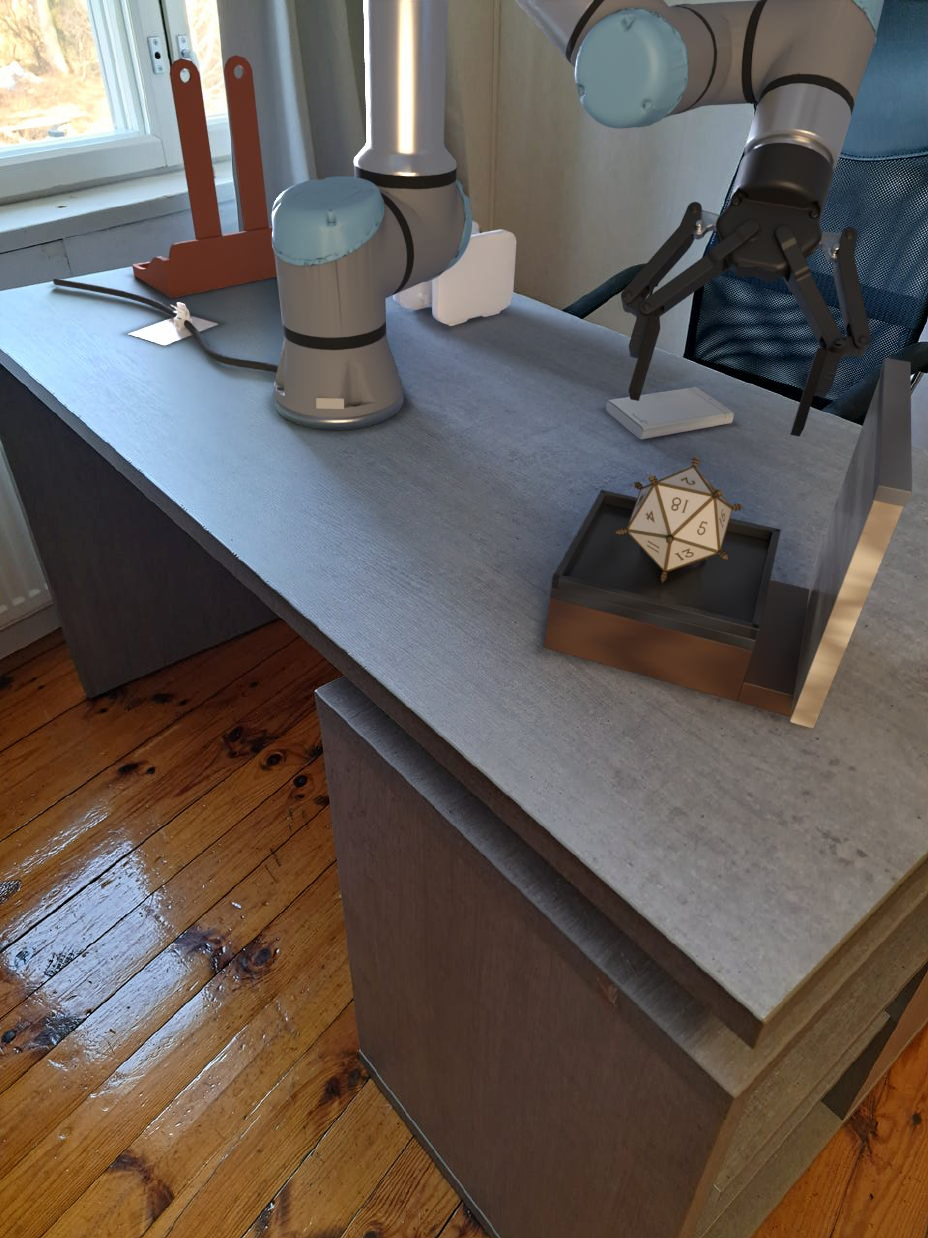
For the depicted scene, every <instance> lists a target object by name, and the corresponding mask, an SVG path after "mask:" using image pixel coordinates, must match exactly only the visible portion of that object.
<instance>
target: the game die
mask: <svg viewBox="0 0 928 1238" xmlns="http://www.w3.org/2000/svg"><path fill="white" fill-rule="evenodd" d="M699 462H700V460H699V457H698V455H695V456H694V457H693V458H691V462H690V463H691V466H689V467H687V468H684V469H682V470H679V471H677V472H674V473H673V474H670V475H668V476H664V477H663V478H660V479H658V477H657V476H656V475H653V474H652V475H651V474H649V477H648V481H649V482H650V483H649V484H646V485H643V483H641V482H640V481H633V483H634V484H633V485H634V489H636V490H637V491H638V490H639V492H638V496H637V501H636V504H635V506H634V509H633V512H632V515H631V517H630V520H629V523H628V526H627V528H621V529H620V528H619V530H618V531H617V532H616V533H617V534H620V535H622V534H625V533H628V534H629V535H630V536H631V537H632V538H633V539H634V540H635V541H636V542H637V543H638V544H639V545H640V547H641V548H642V549H643V550H644V551H645V552H646V553H647V554H648V555H649V556H650V557H651V558H652V559H653V560H654V562H655V563H656V564H657V565H658V566H659V567H660V568H661V569H662V570H663V572H662V574H661V577H660V578H661V581H662V582H664V581H665V580H666V579H667V576H668V575H667V572H668V571H671V570H674V569H677V568H679V567H682V566H685V565H688V564H691V563H693V562H696V561H699V560H702V559H703V560H707V557H710V556H713V555H716V554H718V555H719V557H721V559H727V560H728V557H727V553H725V551H721V547H722V544H723V540H724V537H725V533H726V530H727V526H728V523H729V519H730V518H731V515H732V512H733V511H734V512H737V511H738V512H739V511H741V509H742V508H743V507H744V505H742V504H740V503H736V504H733V505H731V504H730V503H729V502H728V501H727V499H726V498H725V497H724V496H723V490H722V489H716V487H715V486H714V485H713V484H712V483H711V482H710V481H709V480H708V478H707V477H706V476H704V474H703V473H702V472H701V470H699V469H698V468H697V466H698V465H699Z"/></svg>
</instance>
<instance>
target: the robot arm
mask: <svg viewBox="0 0 928 1238" xmlns="http://www.w3.org/2000/svg"><path fill="white" fill-rule="evenodd" d="M514 2H515V3H516V4H517V5H518V7H520V8H521V10H522V11H523V12H524V13H525V14H526V15H527V17H529V18H530V20H531V21H532V22H533V23H534V25H536V27H538V29H539V30H540V31H541V32H542V33H543V35H545V36H546V37H547V40H549V41H550V42H551V43H552V45H553V46H554V47H555V48H556V49H557V50H558V51H559V52H560V54H562V55H563V57H564V58H565V59H566V60H567V61H568V63H570V65H571V66H572V67H573V68H574V81H575V86H576V90H577V94H578V97H579V100H580V103H581V105H582V107H583V109H584V110H585V112H586V113H587V114H588V115H589V116H590V117H591V118H592V119H593V120H594V121H595V122H597V123H599V124H600V125H602V126H605V127H607V128H610V129H611V128H612V129H622V130H623V129H631V128H646V127H649V126H652V125H654V124H656V123H660V122H661V121H662V120H663V119H665V118H667V117H671V116H674V115H680V114H683V113H686V112H690V111H693V110H695V109H699V108H702V107H707V106H709V107H710V106H727V105H745V104H750V105H756V109H755V112H754V116H753V120H752V123H751V127H750V129H749V130H750V131H749V132H748V137H747V139H746V143H745V147H744V150H743V151H744V156H743V157H742V158H741V161H740V163H739V167H738V171H737V173H736V177H735V180H734V183H733V186H732V190H731V192H730V193H731V194H730V197H729V200H728V203H727V206H726V207H725V209H724V210H723V211H722V212H721V213H720V214H718V213H715V212H712V211H711V212H710V211H709V210H708V211H707V210H705V209H703V207H702V204H701V203H700V202H699V201H693V202H690V203H689V204H688V205H687V207H686V210H685V212H684V215H683V217H682V219H681V221H680V224H679V226H678V227H677V228H676V229H675V231H673V233H672V234H671V235H670V236H669V237H668V239H667V240H666V241H664V243H663V244H662V245H661V247H660V248H659V249H658V250H657V251H656V252H655V253H654V255H653V256H652V257H651V258H649V260H648V261H647V262H646V264H645V265H644V266H643V267H642V268H641V270H639V272H638V273H637V274H636V275H635V276H634V277H633V278H632V280H631V281H630V282H629V283H628V284H627V285H626V287H624V289H622V291H621V293H620V299H621V305H622V309H623V311H624V312H625V313H629V314H632V315H633V316H634V317H635V318H636V319H635V323H634V325H633V329H632V333H631V337H630V340H629V344H628V351H629V357H630V358H633V359H637V360H636V363H635V367H634V370H633V373H632V377H631V380H630V383H629V387H628V394H629V397H630V399H631V400H636V401H639V399H640V396H641V395H642V392H643V389H644V387H645V382H646V379H647V376H648V371H649V368H650V366H651V363H652V362H651V361H652V358H653V356H654V351H655V348H656V345H657V341H658V338H659V335H660V331H661V317H662V316H663V315H665V314H666V313H667V312H669V311H670V310H672V309H673V308H674V307H675V306H677V305H679V304H680V303H681V302H683V301H684V300H686V299H687V298H688V297H689V296H691V295H693V294H694V293H695V292H696V291H698V290H699V289H701V288H702V287H703V286H705V285H706V284H708V283H709V282H710V281H711V280H713V279H717V278H719V277H721V276H722V275H723V274H725V273H726V272H727V271H729V270H731V272H733V273H734V274H735V276H736V277H740V278H753V277H755V278H757V279H760V280H761V281H764V282H769V283H774V281H776V280H780V279H783V281H784V283H785V284H786V285H785V286H786V287H787V289H788V291H789V292H790V293H792V295H793V297H794V299H795V300H796V302H797V304H798V307H799V309H800V311H801V313H802V315H803V317H804V318H805V320H806V323H807V324H808V326H809V328H810V330H811V332H812V334H813V337H814V338H815V341H816V342H817V345H818V346H819V347H817V350H816V352H815V354H814V356H813V358H812V361H811V364H810V368H809V371H808V375H807V378H806V381H805V385H804V388H803V391H802V394H801V397H800V401H799V404H798V408H797V411H796V414H795V417H794V421H793V423H792V427H791V430H790V433H789V435H790V436H794V437H798V438H800V437H801V436H802V435H801V434H802V433H803V431H804V430H805V426H806V424H807V420H808V417H809V413H810V410H811V407H812V403H813V400H814V397H820V398H826V397H827V396H828V394H829V393H830V391H831V390H832V388H833V384H834V381H835V378H836V375H837V372H838V368H839V365H840V361H842V360H843V359H845V358H851V357H852V358H854V359H855V358H857V359H858V358H861V357H862V356H863V355H864V354H865V353H866V352H867V350H868V348H869V346H870V345H871V344H872V334H871V330H870V325H869V321H868V316H867V311H866V305H865V301H864V297H863V293H862V287H861V282H860V277H859V273H858V268H857V264H856V257H855V251H856V246H857V240H858V235H859V234H858V230H857V228H855V227H853V226H848V227H845V228H844V229H843V230H842V232H834V231H833V232H831V231H822V228H821V220H822V217H823V213H824V209H825V207H826V203H827V199H828V196H829V193H830V190H831V187H832V184H833V179H834V175H835V174H834V170H835V169H836V168H837V165H838V162H839V159H840V156H841V153H842V150H843V146H844V143H845V139H846V136H847V133H848V130H849V126H850V125H851V120H852V114H853V112H854V107H855V105H856V101H857V98H858V95H859V92H860V89H861V85H862V82H863V79H864V76H865V73H866V70H867V67H868V64H869V61H870V57H871V54H872V52H873V49H874V47H875V46H876V42H877V40H878V37H877V34H878V33H877V32H878V30H879V29H878V28H879V24H880V20H881V17H882V16H881V15H882V12H883V8H884V3H885V0H738V1H737V0H735V1H719V2H718V1H717V2H704V3H703V2H702V3H681V4H672V5H668V3H666V1H665V0H514ZM448 8H449V0H363V19H364V21H363V23H364V24H363V25H364V63H365V64H364V65H365V69H364V70H365V105H366V106H365V108H366V109H365V110H366V143H365V145H364V146H363V147H362V148H361V149H360V150H359V152H358V153H357V154H356V155H355V156H354V159H353V168H354V169H353V170H354V171H353V172H354V173H353V174H354V175H353V176H345V175H344V176H341V175H339V176H338V175H337V176H335V175H334V176H327V177H325V178H323V179H319V178H313V179H309V180H305V181H302V182H299V183H297V184H294V185H292V186H290V187H288V188H286V189H285V190H284V191H282V193H280V194H279V195H278V197H276V200H275V201H274V203H273V205H272V210H271V222H272V223H271V224H272V225H271V226H273V232H272V247H273V250H274V257H275V266H276V274H277V276H276V280H277V281H276V282H277V283H276V284H277V289H278V290H277V291H278V299H279V309H280V316H281V325H282V334H283V342H282V347H281V352H280V357H279V361H278V364H274V363H269V362H264V361H257V360H248V359H242V358H235V357H231V356H227V355H224V354H222V353H219V352H217V351H216V350H214V349H213V348H212V347H211V345H210V344H209V342H208V340H207V339H206V338H205V337H204V335H203V334H202V333H201V331H200V332H199V331H198V330H197V329H196V328H195V327H194V326H193V325H192V323H190V322H189V321H188V320H185V321H184V326H185V327H186V328H187V329H188V330H189V331H190V333H191V334H192V335H191V336H193V338H194V339H195V340H196V341H197V342H198V343H199V345H200V346H201V348H202V349H203V352H205V354H206V355H207V357H209V358H211V359H212V360H214V361H217V362H219V363H221V364H224V365H229V366H233V367H238V368H244V369H245V368H247V369H253V370H259V371H260V370H261V371H268V372H271V373H275V378H274V382H273V383H274V384H273V401H274V408H275V409H276V411H277V412H278V413H279V415H280V416H282V417H283V418H285V419H286V420H288V421H289V422H292V423H294V424H297V425H300V426H304V427H307V428H313V429H321V430H353V429H359V428H365V427H369V426H373V425H376V424H379V423H383V422H384V421H387V420H389V419H390V418H392V417H393V416H396V415H397V413H398V412H400V410H401V409H402V407H403V405H404V385H403V380H402V378H401V376H400V372H399V369H398V366H397V364H396V361H395V358H394V355H393V352H392V350H391V347H390V344H389V341H388V337H387V307H386V306H387V305H386V302H387V301H386V299H388V298H389V297H392V296H393V295H394V294H397V293H399V292H401V291H404V290H406V289H408V288H411V287H413V286H415V285H417V284H420V283H422V282H428V281H430V280H433V279H435V278H437V277H439V276H440V275H441V274H442V273H444V272H445V271H446V270H448V269H450V268H451V267H452V266H454V265H455V264H456V263H457V262H458V261H459V259H460V258H461V257H462V255H463V254H464V252H465V250H466V248H467V246H468V243H469V240H470V237H471V232H472V221H473V210H472V206H471V201H470V198H469V196H468V195H466V194H465V193H464V191H463V190H464V186H463V185H462V183H461V182H460V181H459V179H457V173H458V172H457V167H458V166H457V165H458V164H457V161H456V159H455V158H454V157H453V155H451V153H450V152H449V151H448V149H447V148H446V145H445V115H446V114H445V113H446V80H447V78H446V77H447V45H448V44H447V43H448V13H449V12H448ZM709 232H715V236H716V239H717V242H718V243H717V244H715V245H714V246H712V247H711V248H710V249H709V250H708V251H707V253H706V254H705V255H704V256H702V257H701V258H700V259H698V260H697V261H695V262H694V263H692V264H691V265H690V266H688V267H687V268H686V269H684V270H683V271H682V272H680V273H679V274H678V275H676V276H675V277H673V278H672V279H671V280H669V281H668V282H666V283H665V284H664V285H663V286H661V287H660V288H658V289H657V290H655V288H656V287H657V286H658V285H659V284H660V283H661V281H662V280H663V279H664V278H665V277H666V276H667V275H668V273H669V272H670V271H671V270H672V268H674V267H675V266H676V264H677V263H678V262H679V261H680V260H681V259H682V258H683V257H684V256H685V254H686V253H687V252H688V251H689V249H690V248H691V246H692V245H693V243H694V241H695V240H698V241H699V240H701V239H703V238H704V237H705V236H706V234H708V233H709ZM817 250H821V251H823V252H824V257H825V260H826V261H827V262H829V263H831V264H833V266H832V273H833V280H834V285H835V289H836V294H837V299H838V304H839V308H840V309H839V310H840V314H841V319H842V322H843V329H844V334H845V336H843V334H842V332H841V330H840V328H839V326H838V323H837V322H836V320H835V318H834V316H833V314H832V312H831V310H830V308H829V306H828V305H827V303H826V300H825V299H824V297H823V295H822V293H821V291H820V289H819V286H818V284H817V283H816V280H815V279H814V277H813V275H812V272H811V268H810V265H809V263H808V261H807V259H808V258H810V257H811V256H812V255H813V254H814V253H815V252H816V251H817ZM52 283H53V285H55V286H59V287H65V288H72V289H77V290H84V291H90V292H95V293H99V294H105V295H110V296H116V297H121V298H124V299H129V300H132V301H136V302H139V303H142V304H145V305H148V306H151V307H153V308H156V309H158V310H160V311H162V312H164V313H165V314H168V315H169V316H170V317H171V318H173V317H176V316H177V313H174V312H173V311H176V309H175V308H173V307H172V306H170V305H167V304H165V303H162V302H161V301H158V300H156V299H153V298H151V297H147V296H144V295H141V294H138V293H134V292H130V291H126V290H122V289H119V288H113V287H107V286H102V285H97V284H91V283H86V282H80V281H74V280H69V279H62V278H53V280H52ZM653 290H655V291H654V292H653ZM652 292H653V293H652ZM651 293H652V294H651ZM180 319H182V318H179V320H180Z"/></svg>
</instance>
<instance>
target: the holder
mask: <svg viewBox="0 0 928 1238" xmlns="http://www.w3.org/2000/svg"><path fill="white" fill-rule="evenodd" d="M911 365H912V363H911V361H906V360H900V359H895V358H888V357H884V359H883V361H882V364H881V367H880V369H879V370H880V371H879V372H880V373H879V378H878V380H877V384H876V386H875V388H874V389H875V390H874V392H873V395H872V398H871V400H870V404H869V407H868V409H867V413H866V415H865V418H864V421H863V424H862V427H861V429H860V432H859V435H858V437H857V441H856V444H855V447H854V450H853V453H852V456H851V459H850V461H849V465H848V467H847V470H846V472H845V475H844V479H843V482H842V484H841V488H840V490H839V493H838V496H837V498H836V502H835V505H834V508H833V510H832V513H831V516H830V519H829V521H828V525H827V528H826V530H825V533H824V537H823V539H822V541H821V545H820V548H819V550H818V552H817V556H816V559H815V562H814V565H813V567H812V571H811V577H810V585H809V588H806V587H802V586H798V585H794V584H790V583H786V582H782V581H777V580H772V575H773V569H774V564H775V560H776V555H777V550H778V546H779V541H780V536H781V532H782V529H780V528H776V527H772V526H767V525H763V524H758V523H754V522H749V521H745V520H740V519H736V518H731V517H730V519H729V523H728V526H727V530H726V533H725V537H724V540H723V544H722V547H721V551H725V553H727V557H728V560H727V559H721V557H719V555H718V554H716V555H713V556H710V557H707V560H703V559H702V560H699V561H696V562H693V563H691V564H688V565H685V566H682V567H679V568H677V569H674V570H671V571H668V572H667V575H668V576H667V579H666V580H665V581H664V582H662V581H661V578H660V577H661V574H662V572H663V570H662V569H661V568H660V567H659V566H658V565H657V564H656V563H655V562H654V560H653V559H652V558H651V557H650V556H649V555H648V554H647V553H646V552H645V551H644V550H643V549H642V548H641V547H640V545H639V544H638V543H637V542H636V541H635V540H634V539H633V538H632V537H631V536H630V535H629V534H628V533H625V534H622V535H620V534H617V533H616V532H617V531H618V530H619V528H620V529H621V528H627V526H628V523H629V520H630V517H631V515H632V512H633V509H634V506H635V504H636V501H637V498H638V496H632V495H628V494H623V493H618V492H614V491H610V490H604V489H601V490H600V491H599V493H598V495H597V497H596V499H595V500H594V502H593V503H592V505H591V507H590V509H589V511H588V512H587V515H586V516H585V518H584V520H583V521H582V523H581V525H580V527H579V529H578V531H577V532H576V534H575V535H574V538H573V539H572V541H571V542H570V545H569V546H568V549H567V550H566V552H565V554H564V555H563V557H562V559H561V560H560V563H559V564H558V566H557V568H556V569H555V572H554V573H553V575H552V577H551V585H550V593H549V594H550V595H549V601H548V610H547V619H546V627H545V637H544V644H543V647H544V649H547V650H551V651H555V652H558V653H562V654H566V655H569V656H572V657H576V658H579V659H583V660H587V661H590V662H594V663H598V664H601V665H605V666H608V667H613V668H615V669H619V670H623V671H626V672H630V673H633V674H637V675H640V676H644V677H648V678H650V679H655V680H657V681H658V680H659V681H662V682H666V683H670V684H673V685H677V686H680V687H683V688H688V689H691V690H694V691H698V692H702V693H705V694H709V695H712V696H716V697H719V698H723V699H726V700H730V701H733V702H738V703H741V704H744V705H749V706H752V707H755V708H759V709H763V710H767V711H770V712H774V713H777V714H780V715H784V716H787V717H789V722H790V723H791V724H795V725H798V726H803V727H806V728H809V729H814V728H815V725H816V723H817V720H818V718H819V715H820V713H821V712H822V708H823V707H824V703H825V701H826V699H827V696H828V694H829V691H830V689H831V686H832V684H833V681H834V679H835V677H836V674H837V672H838V669H839V667H840V665H841V662H842V659H843V657H844V654H845V653H846V650H847V647H848V645H849V642H850V640H851V637H852V635H853V633H854V630H855V627H856V625H857V622H858V620H859V617H860V614H861V613H862V610H863V607H864V605H865V603H866V600H867V598H868V595H869V593H870V591H871V589H872V585H873V583H874V580H875V578H876V576H877V573H878V571H879V568H880V566H881V563H882V561H883V558H884V556H885V554H886V551H887V549H888V546H889V544H890V541H891V539H892V536H893V534H894V531H895V529H896V526H897V524H898V521H899V519H900V517H901V514H902V512H903V509H904V508H906V507H907V506H908V504H909V501H910V500H911V496H912V494H913V472H912V471H913V460H912V459H913V455H912V454H913V453H912V451H913V449H912V448H913V447H912V376H911V375H912V374H911V373H912V371H911V370H912V369H911V367H912V366H911Z"/></svg>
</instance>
